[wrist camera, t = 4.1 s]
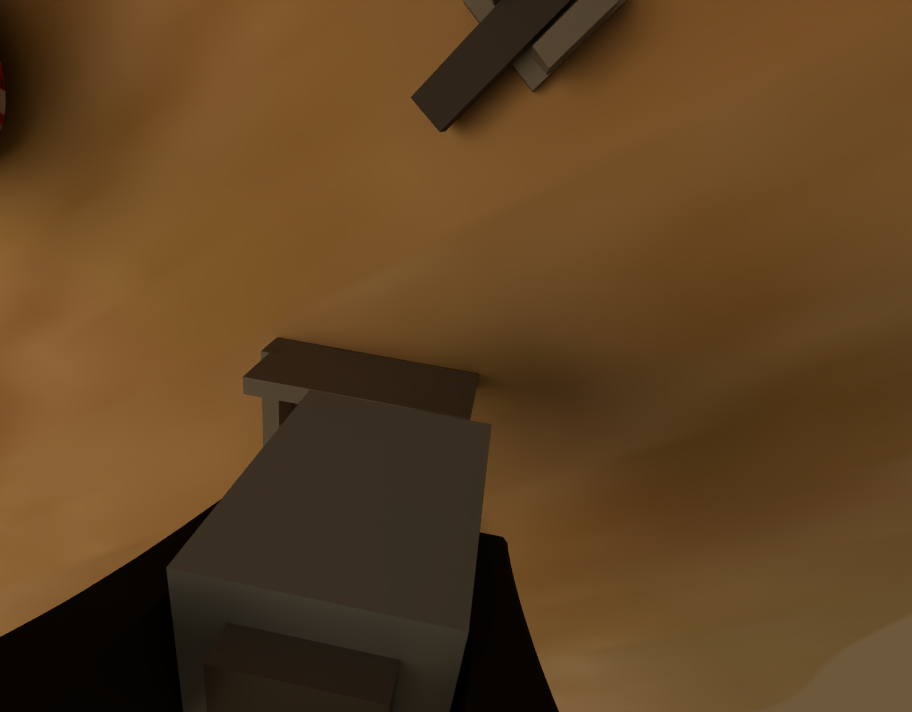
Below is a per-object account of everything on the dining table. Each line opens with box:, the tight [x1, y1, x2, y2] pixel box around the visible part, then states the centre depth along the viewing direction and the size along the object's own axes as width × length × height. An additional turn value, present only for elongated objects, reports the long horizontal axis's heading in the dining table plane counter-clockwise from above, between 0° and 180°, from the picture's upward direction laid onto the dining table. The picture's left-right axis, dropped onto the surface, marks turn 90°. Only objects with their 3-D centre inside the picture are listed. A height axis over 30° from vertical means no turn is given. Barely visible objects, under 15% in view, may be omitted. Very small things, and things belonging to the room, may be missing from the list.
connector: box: [166, 390, 491, 712], centre depth 10 cm, size 4×4×6 cm
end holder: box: [243, 338, 479, 447], centre depth 18 cm, size 7×7×3 cm
